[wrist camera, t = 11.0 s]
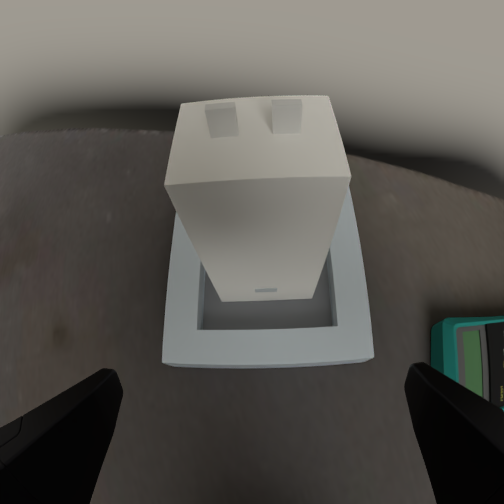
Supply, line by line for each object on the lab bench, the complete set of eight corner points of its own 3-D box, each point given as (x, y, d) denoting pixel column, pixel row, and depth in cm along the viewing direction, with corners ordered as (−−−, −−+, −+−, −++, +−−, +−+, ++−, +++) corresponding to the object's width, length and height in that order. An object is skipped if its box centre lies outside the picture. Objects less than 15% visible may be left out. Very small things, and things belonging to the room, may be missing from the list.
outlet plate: (363, 361, 18) (374, 357, 16) (173, 366, 19) (161, 362, 17) (343, 200, 23) (348, 182, 21) (186, 206, 24) (179, 189, 22)
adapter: (312, 299, 19) (359, 149, 8) (221, 302, 19) (151, 160, 8) (306, 239, 21) (331, 69, 9) (223, 243, 21) (174, 78, 10)
